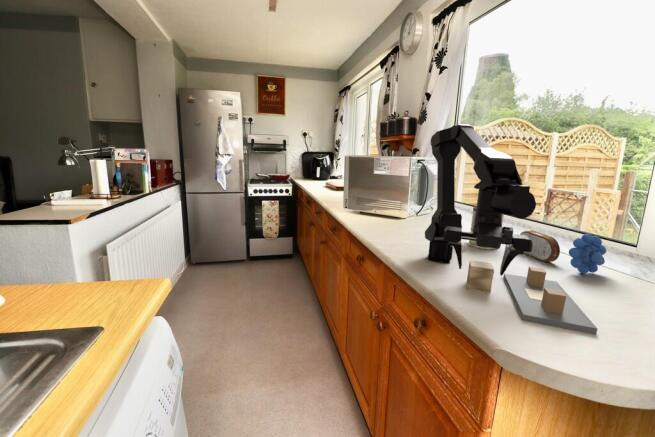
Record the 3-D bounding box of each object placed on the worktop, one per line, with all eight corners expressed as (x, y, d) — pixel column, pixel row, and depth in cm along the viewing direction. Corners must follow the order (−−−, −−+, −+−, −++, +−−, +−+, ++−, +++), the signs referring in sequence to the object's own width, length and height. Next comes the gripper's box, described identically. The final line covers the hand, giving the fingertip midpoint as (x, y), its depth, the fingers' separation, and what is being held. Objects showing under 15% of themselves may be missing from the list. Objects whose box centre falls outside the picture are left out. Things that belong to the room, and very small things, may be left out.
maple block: (467, 289, 75) (471, 266, 74) (466, 281, 80) (469, 259, 79) (490, 293, 74) (494, 269, 72) (488, 285, 78) (491, 263, 77)
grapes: (579, 280, 84) (589, 237, 81) (558, 270, 90) (566, 231, 88) (615, 279, 86) (625, 237, 83) (591, 270, 92) (600, 231, 90)
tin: (558, 265, 95) (563, 239, 94) (549, 265, 95) (554, 239, 93) (522, 250, 110) (526, 227, 108) (514, 250, 110) (518, 227, 108)
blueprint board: (522, 319, 61) (526, 295, 60) (503, 277, 83) (506, 259, 82) (596, 334, 57) (602, 308, 56) (555, 285, 79) (559, 266, 78)
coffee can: (470, 240, 121) (475, 205, 118) (499, 245, 116) (505, 208, 113) (466, 246, 113) (471, 208, 110) (497, 251, 107) (504, 212, 104)
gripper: (447, 211, 69) (439, 276, 72) (545, 220, 62) (531, 291, 65) (447, 204, 79) (440, 261, 82) (531, 211, 72) (520, 274, 76)
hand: (480, 271), depth 76 cm, fingers open, 9 cm apart
